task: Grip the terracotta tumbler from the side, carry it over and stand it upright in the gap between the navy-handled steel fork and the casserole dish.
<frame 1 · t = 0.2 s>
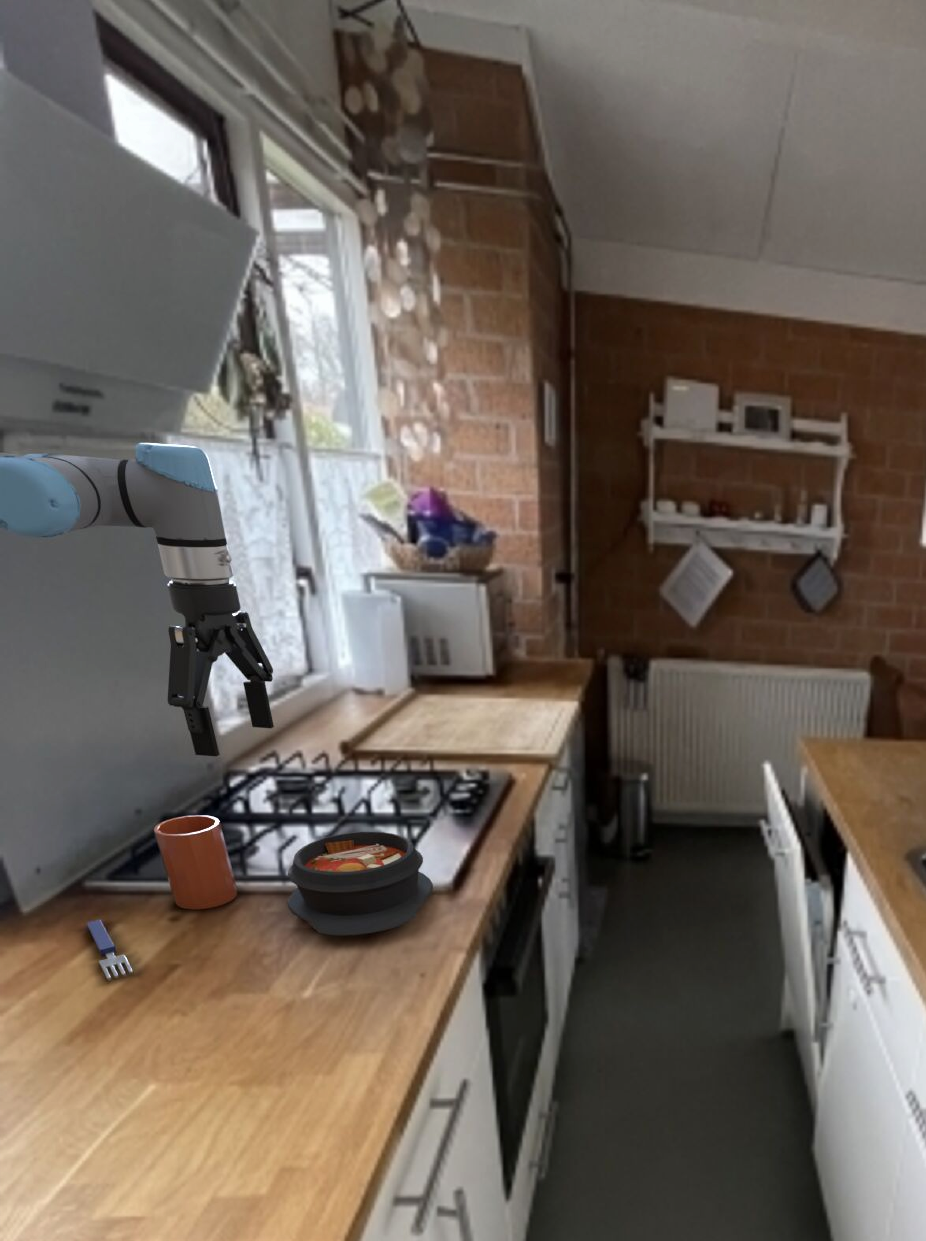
hand: (236, 740, 122), 20 cm above the countertop, tool pointing down, fingers open, 13 cm apart
fork: (106, 948, 109), on the countertop
casserole: (364, 906, 123), on the countertop
tumbler: (207, 897, 122), on the countertop
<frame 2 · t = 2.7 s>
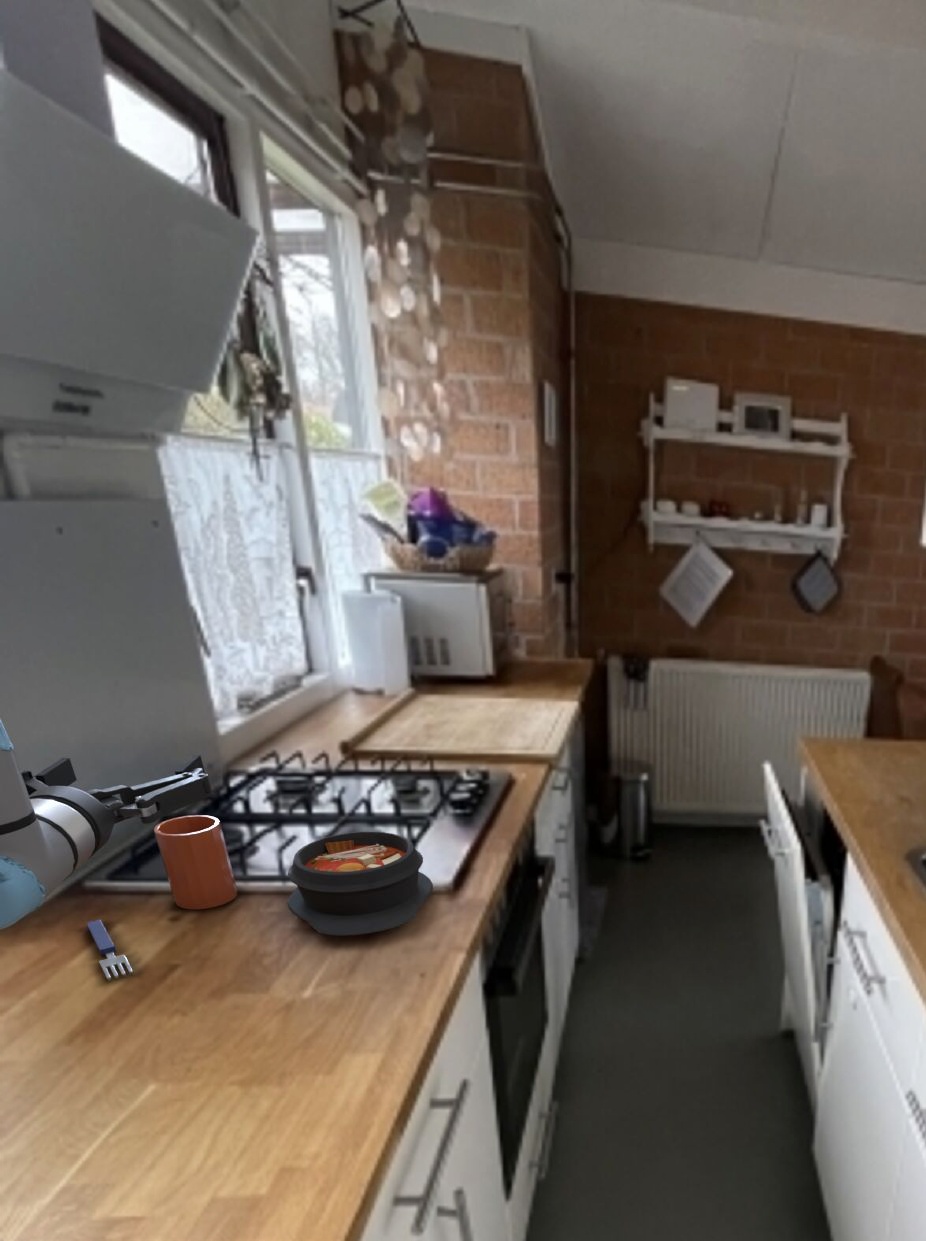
hand: (135, 767, 104), 22 cm above the countertop, tool horizontal, fingers open, 13 cm apart
nothing on the countertop moved.
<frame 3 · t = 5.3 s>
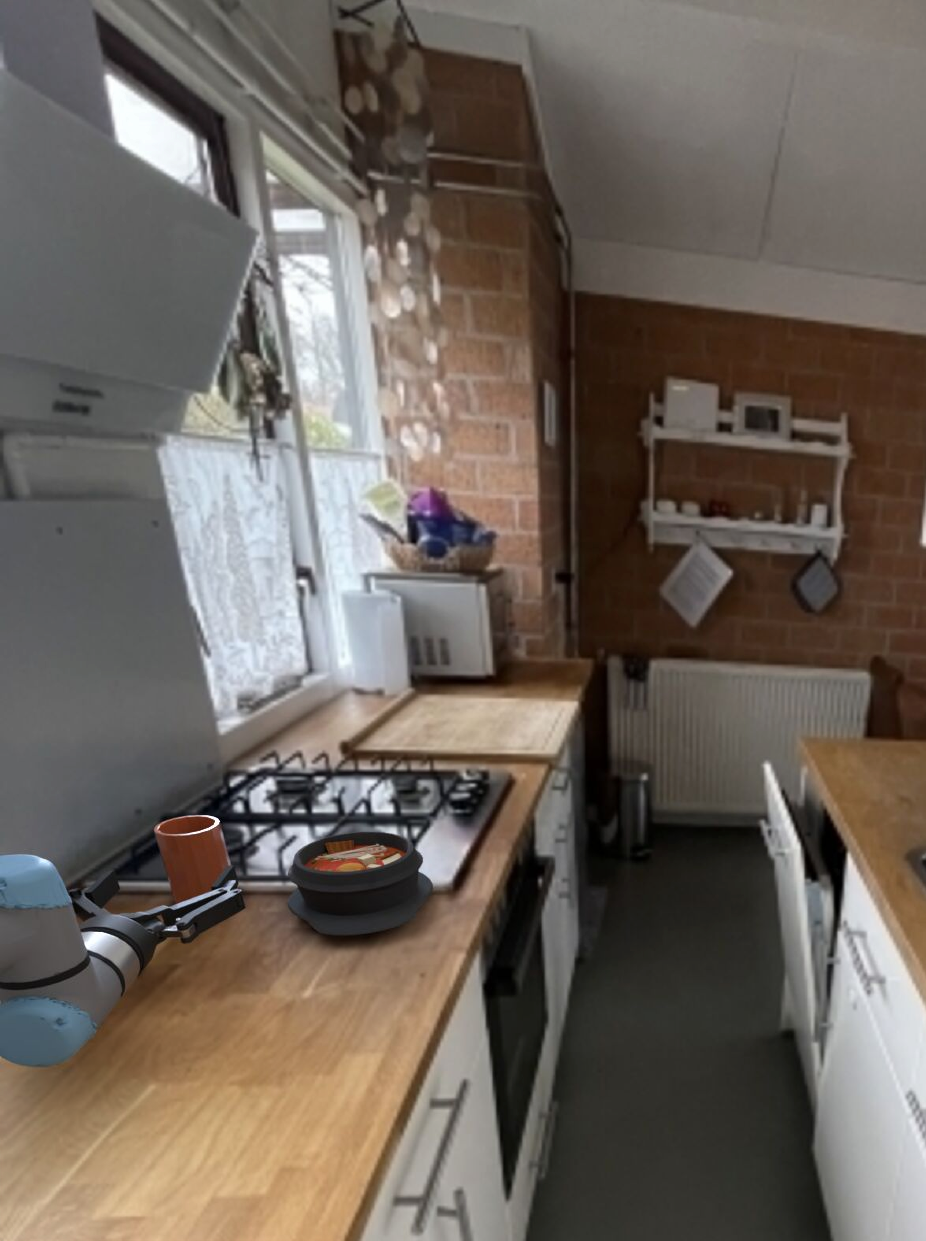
hand: (174, 876, 112), 7 cm above the countertop, tool horizontal, fingers open, 13 cm apart
nothing on the countertop moved.
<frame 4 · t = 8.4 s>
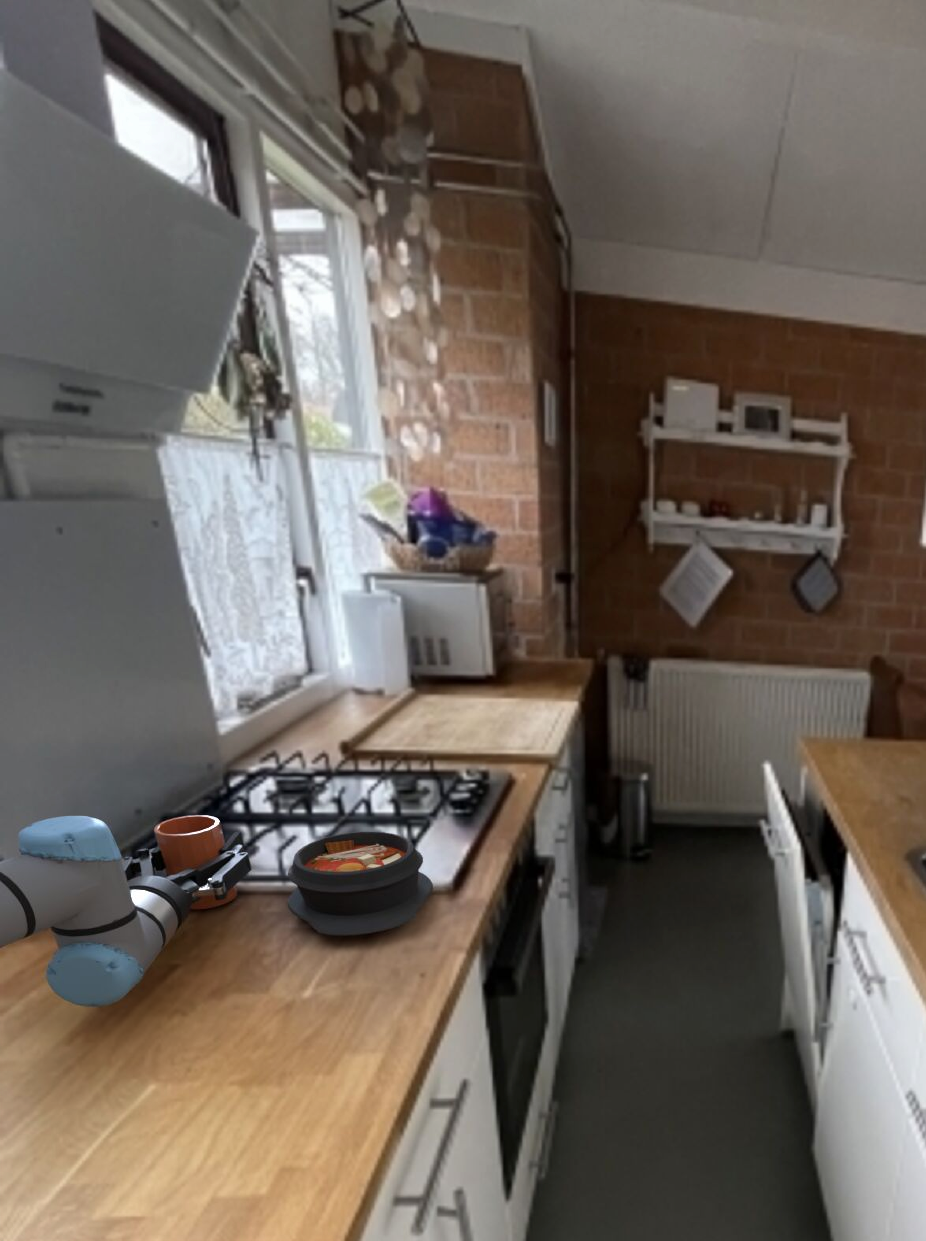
hand: (207, 841, 123), 6 cm above the countertop, tool horizontal, fingers closed on tumbler, 7 cm apart
tumbler: (207, 897, 122), on the countertop, touching gripper
everything else where it was.
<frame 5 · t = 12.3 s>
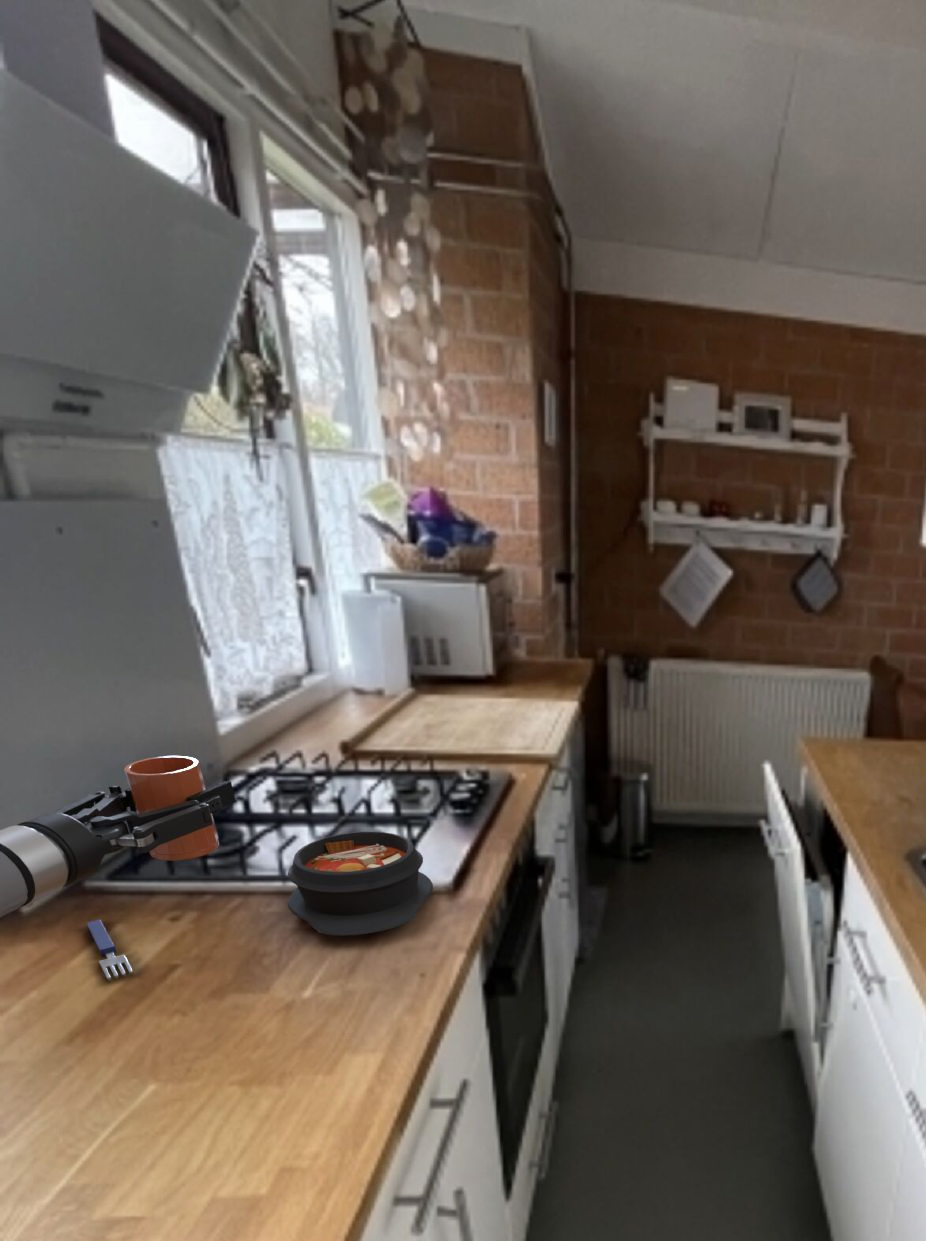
hand: (200, 787, 111), 18 cm above the countertop, tool horizontal, fingers closed on tumbler, 7 cm apart
tumbler: (185, 848, 110), point 11 cm above the countertop, touching gripper
everything else where it was.
when the fingers open (6 cm above the countertop, at t = 16.7 s): tumbler stays where it is, on the countertop.
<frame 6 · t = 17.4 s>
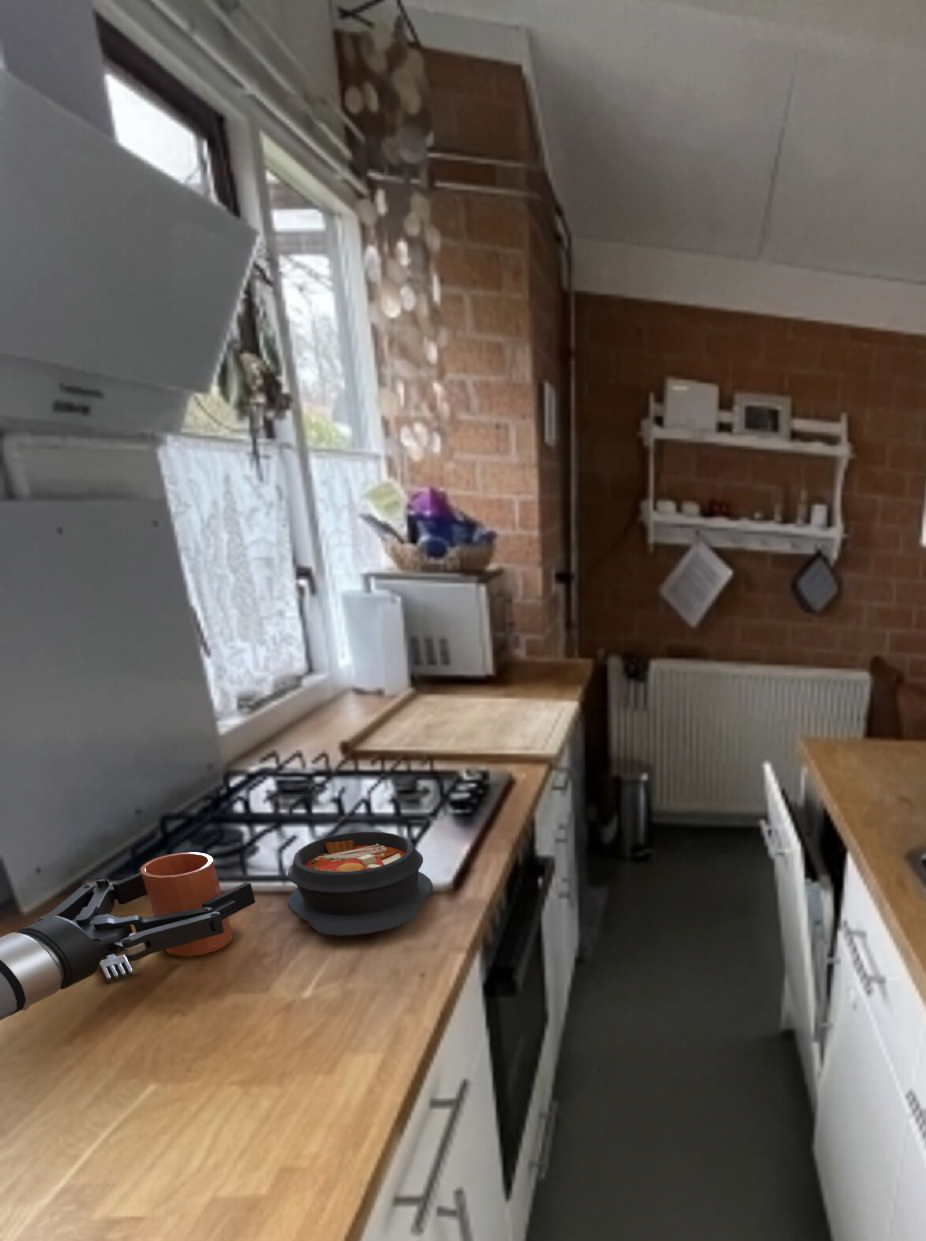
hand: (207, 882, 111), 7 cm above the countertop, tool horizontal, fingers open, 13 cm apart
tumbler: (199, 942, 112), on the countertop
everything else where it was.
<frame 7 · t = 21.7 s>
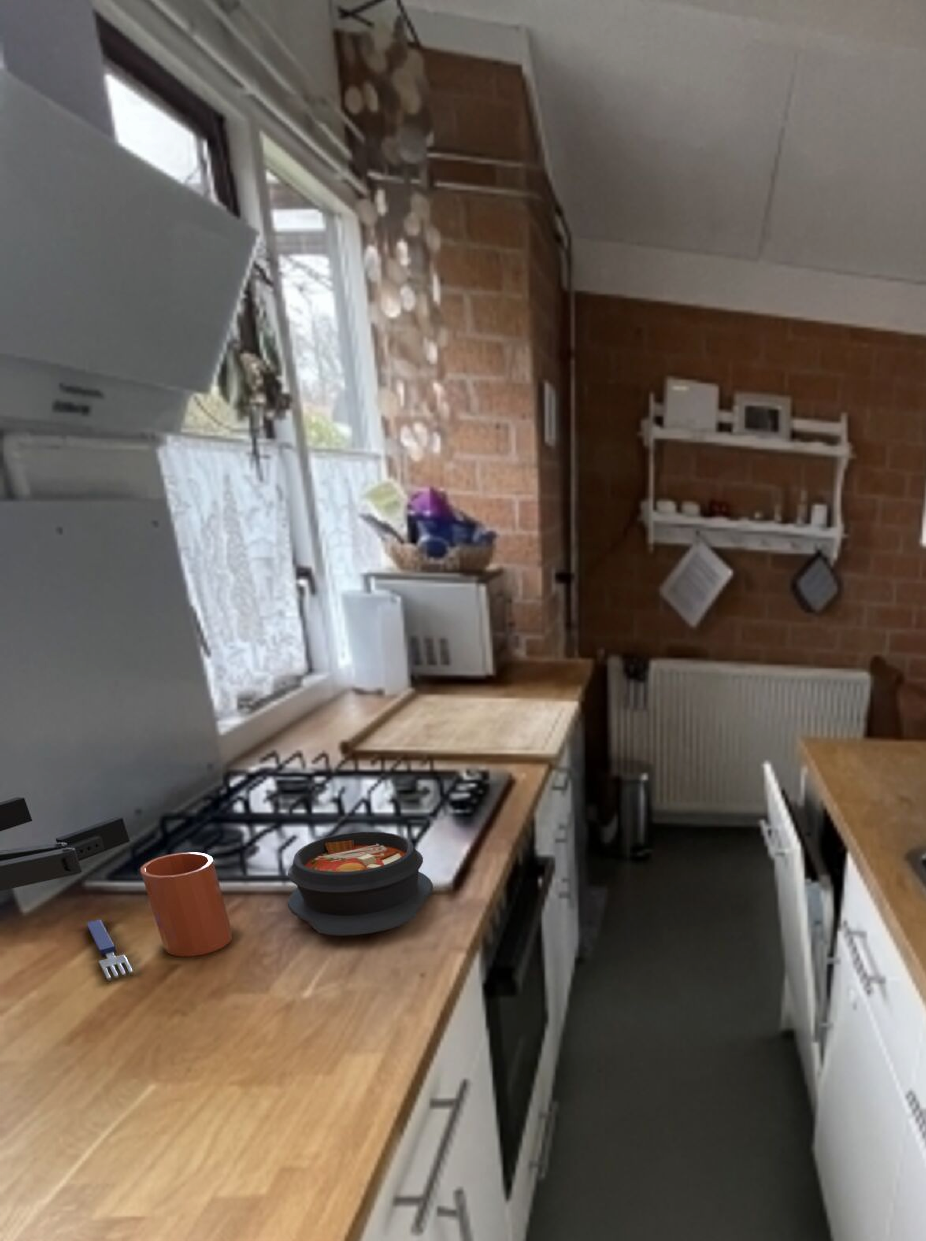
hand: (74, 818, 94), 20 cm above the countertop, tool horizontal, fingers open, 13 cm apart
nothing on the countertop moved.
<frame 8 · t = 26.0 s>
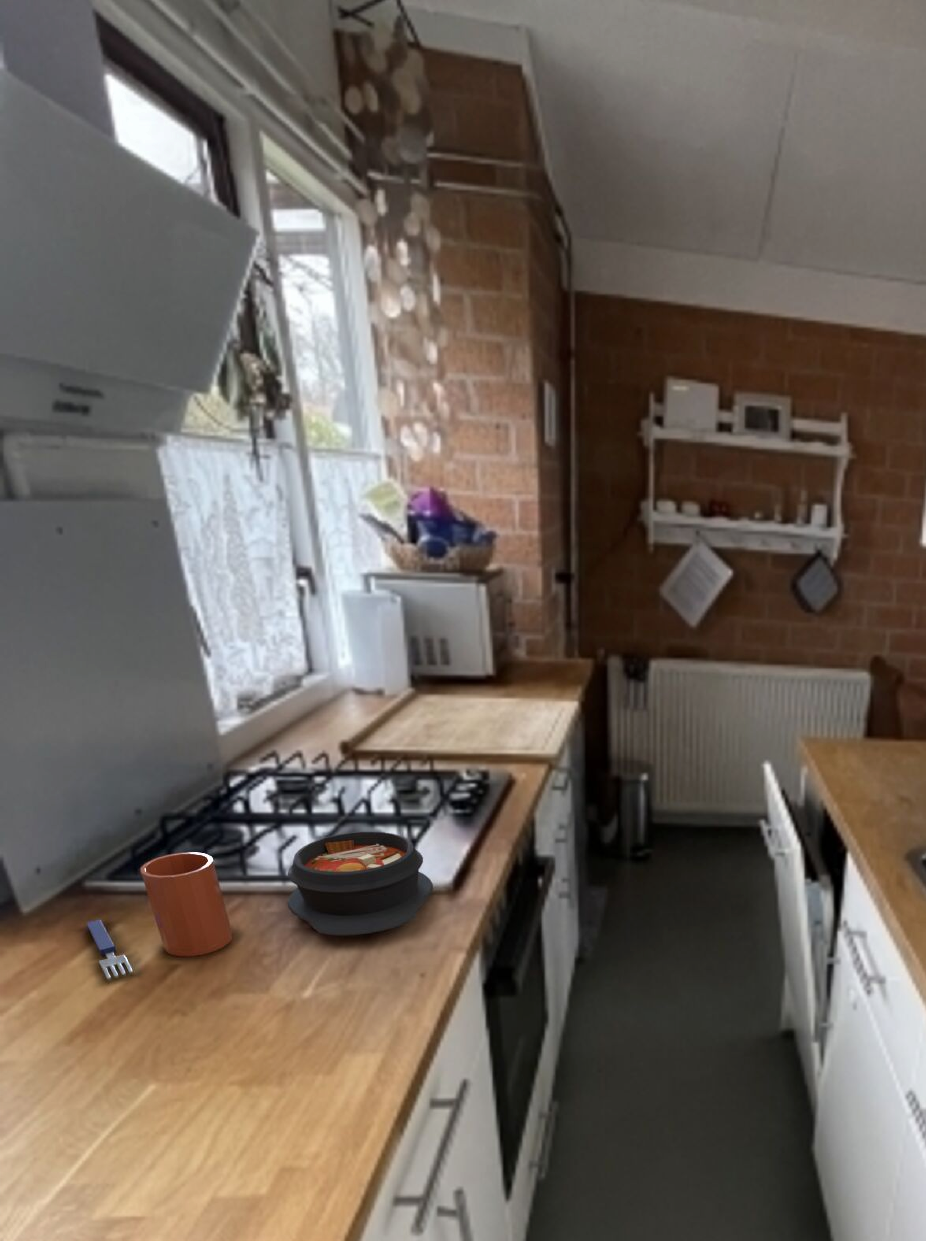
nothing on the countertop moved.
at the end: tumbler inside the target area (0.5 cm from its centre), on the countertop; tumbler tilted 0°; the gripper is holding nothing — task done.
